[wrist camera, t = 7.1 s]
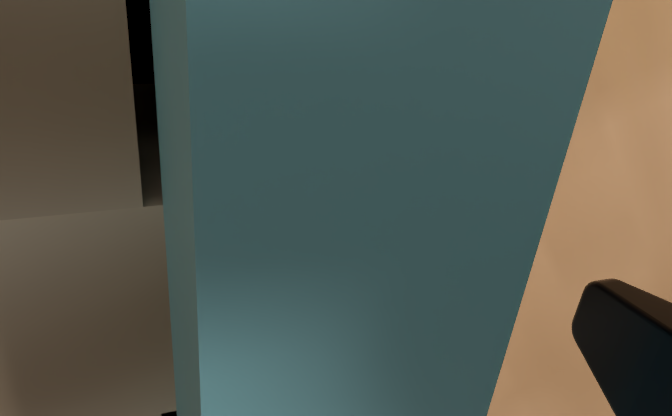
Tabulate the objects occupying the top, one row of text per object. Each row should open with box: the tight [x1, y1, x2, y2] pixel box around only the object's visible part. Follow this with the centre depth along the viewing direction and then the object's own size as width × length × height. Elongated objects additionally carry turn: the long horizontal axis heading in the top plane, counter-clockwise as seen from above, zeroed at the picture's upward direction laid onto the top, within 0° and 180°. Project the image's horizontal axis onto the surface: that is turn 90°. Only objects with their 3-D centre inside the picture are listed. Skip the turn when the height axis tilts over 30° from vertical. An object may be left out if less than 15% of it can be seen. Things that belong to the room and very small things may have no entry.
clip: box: [149, 0, 613, 416], centre depth 9 cm, size 13×3×6 cm, turn 174°
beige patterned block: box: [0, 0, 177, 416], centre depth 11 cm, size 18×8×4 cm, turn 174°
